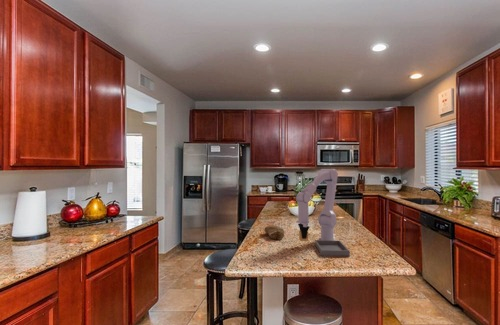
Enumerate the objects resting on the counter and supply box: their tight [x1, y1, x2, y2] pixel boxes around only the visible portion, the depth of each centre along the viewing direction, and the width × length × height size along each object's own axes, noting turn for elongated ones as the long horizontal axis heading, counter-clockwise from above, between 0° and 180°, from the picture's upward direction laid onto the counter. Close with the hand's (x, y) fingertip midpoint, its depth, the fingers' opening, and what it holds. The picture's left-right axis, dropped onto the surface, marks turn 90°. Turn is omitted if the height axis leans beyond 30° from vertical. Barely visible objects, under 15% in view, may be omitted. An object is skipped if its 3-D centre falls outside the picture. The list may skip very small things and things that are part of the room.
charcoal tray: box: [314, 239, 351, 258], centre depth 157 cm, size 20×14×3 cm
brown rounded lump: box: [264, 225, 285, 241], centre depth 190 cm, size 13×8×20 cm
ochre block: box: [298, 230, 309, 242], centre depth 165 cm, size 5×5×5 cm
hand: (303, 237), depth 165 cm, fingers closed on ochre block, 5 cm apart
